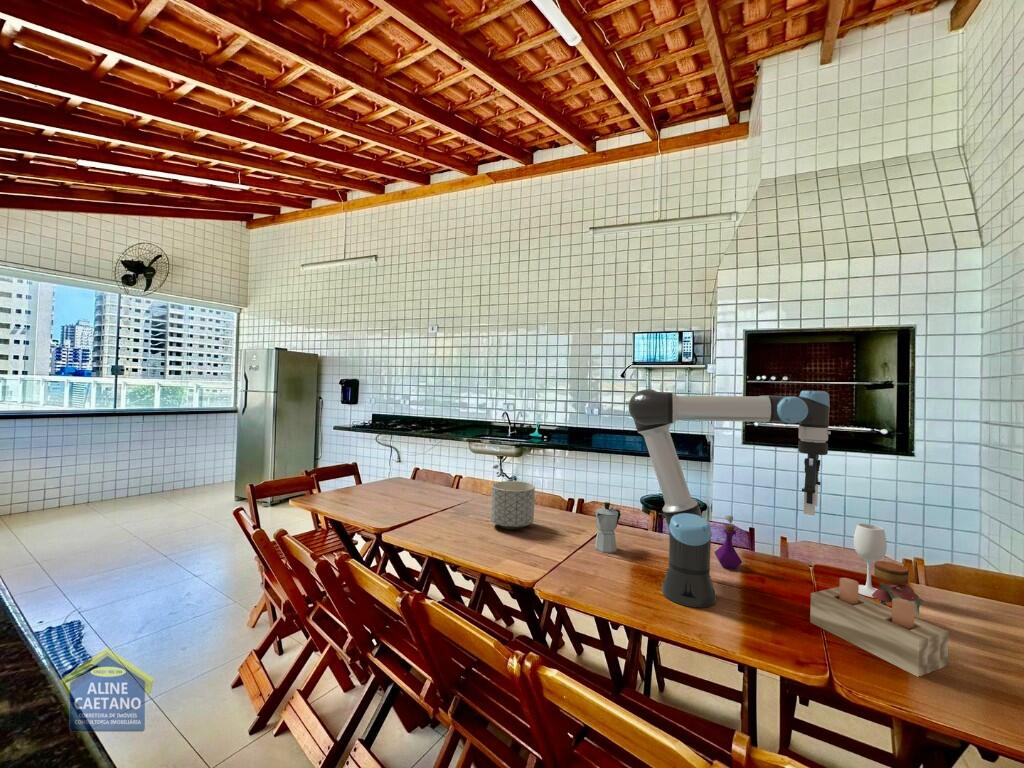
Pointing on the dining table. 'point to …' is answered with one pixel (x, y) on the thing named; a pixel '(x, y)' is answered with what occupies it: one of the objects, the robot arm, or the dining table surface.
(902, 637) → the socket block
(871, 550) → the wineglass
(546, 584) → the dining table surface
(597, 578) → the dining table surface
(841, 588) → the rear peg
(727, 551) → the perfume bottle
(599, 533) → the coffee maker
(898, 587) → the toy burger
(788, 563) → the dining table surface
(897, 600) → the front peg
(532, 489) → the planter
